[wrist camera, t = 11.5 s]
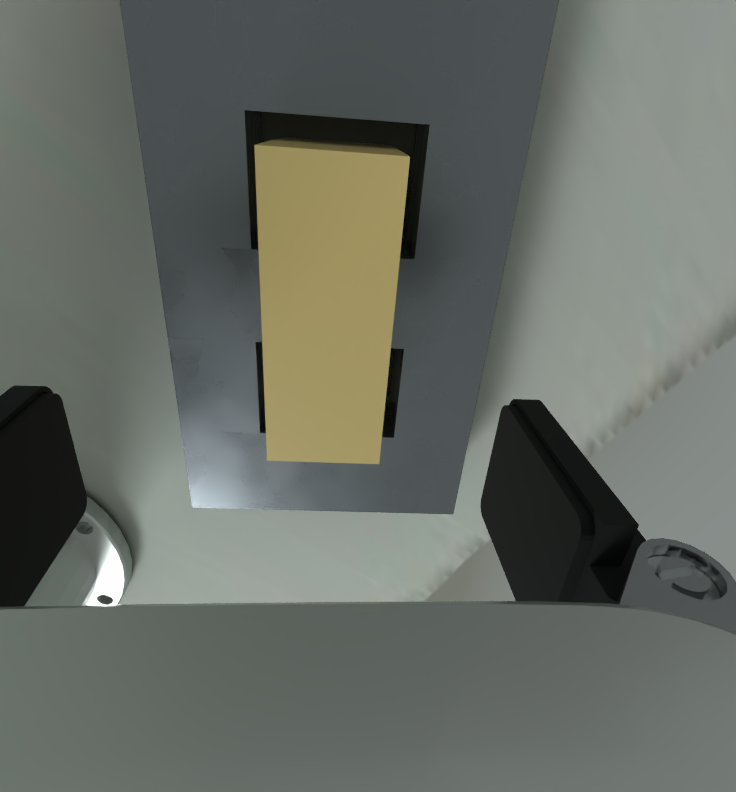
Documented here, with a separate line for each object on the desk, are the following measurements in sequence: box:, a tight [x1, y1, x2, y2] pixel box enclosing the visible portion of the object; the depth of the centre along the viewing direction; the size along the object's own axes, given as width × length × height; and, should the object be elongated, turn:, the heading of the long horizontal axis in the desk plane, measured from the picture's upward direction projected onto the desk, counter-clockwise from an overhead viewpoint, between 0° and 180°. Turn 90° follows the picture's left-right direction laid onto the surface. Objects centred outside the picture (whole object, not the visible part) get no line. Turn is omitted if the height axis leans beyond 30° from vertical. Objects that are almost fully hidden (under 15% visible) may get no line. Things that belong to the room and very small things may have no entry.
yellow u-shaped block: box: [254, 137, 410, 464], centre depth 18 cm, size 10×4×6 cm, turn 176°
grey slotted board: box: [120, 0, 559, 514], centre depth 19 cm, size 20×12×3 cm, turn 176°
